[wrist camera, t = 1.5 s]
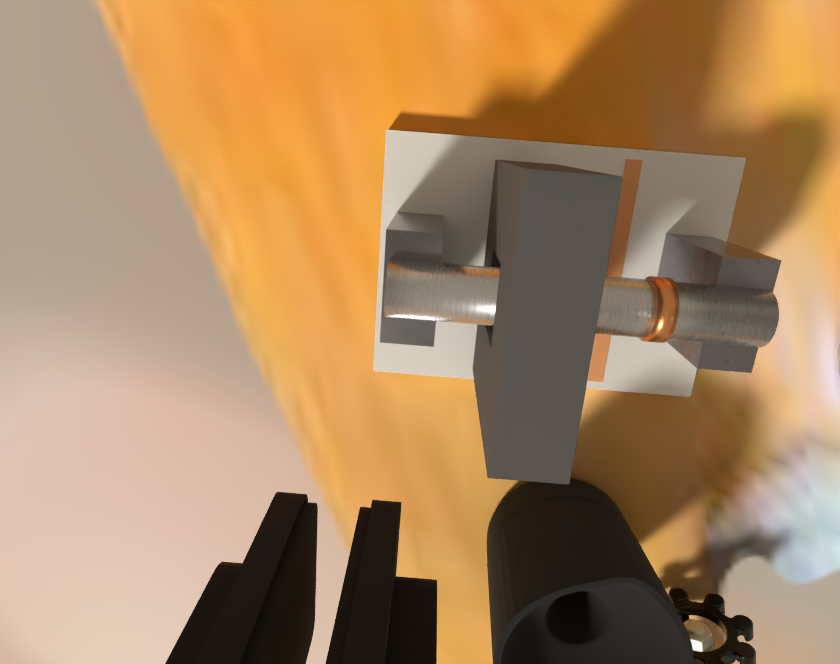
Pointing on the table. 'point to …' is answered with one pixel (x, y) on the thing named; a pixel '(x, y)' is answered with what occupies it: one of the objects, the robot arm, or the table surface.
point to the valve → (705, 657)
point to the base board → (629, 254)
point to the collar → (541, 314)
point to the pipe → (621, 300)
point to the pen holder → (575, 584)
